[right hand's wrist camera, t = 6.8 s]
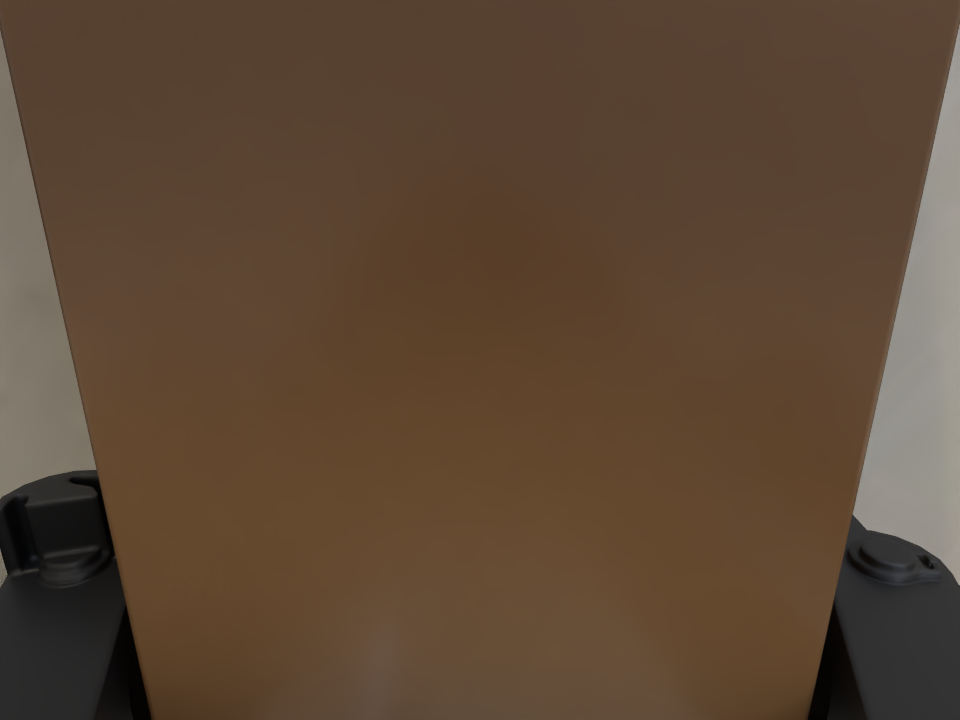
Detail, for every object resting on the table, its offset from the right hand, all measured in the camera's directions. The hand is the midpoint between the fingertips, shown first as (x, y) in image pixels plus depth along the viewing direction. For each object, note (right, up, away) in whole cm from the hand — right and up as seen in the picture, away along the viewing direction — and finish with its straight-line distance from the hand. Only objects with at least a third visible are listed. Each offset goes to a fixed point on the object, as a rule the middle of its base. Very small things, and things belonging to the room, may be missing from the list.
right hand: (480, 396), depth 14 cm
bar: (0, +10, -3) cm, 11 cm away
